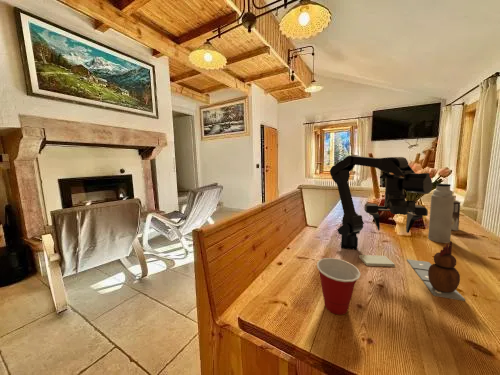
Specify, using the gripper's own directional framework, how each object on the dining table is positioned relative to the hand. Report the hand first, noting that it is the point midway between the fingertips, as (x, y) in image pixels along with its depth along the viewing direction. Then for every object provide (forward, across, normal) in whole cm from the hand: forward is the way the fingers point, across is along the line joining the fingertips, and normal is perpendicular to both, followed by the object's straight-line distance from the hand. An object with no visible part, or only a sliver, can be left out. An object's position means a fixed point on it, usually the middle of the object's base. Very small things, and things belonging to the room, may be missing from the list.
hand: (392, 231), depth 76 cm
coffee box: (+13, +40, +58) cm, 72 cm away
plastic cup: (+13, -20, -33) cm, 41 cm away
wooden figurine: (+13, +10, -14) cm, 22 cm away
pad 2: (+13, +10, -6) cm, 18 cm away
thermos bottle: (+13, +28, +35) cm, 47 cm away
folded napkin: (+13, -5, 0) cm, 14 cm away
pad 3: (+13, +10, -14) cm, 22 cm away
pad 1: (+13, +10, +2) cm, 17 cm away
